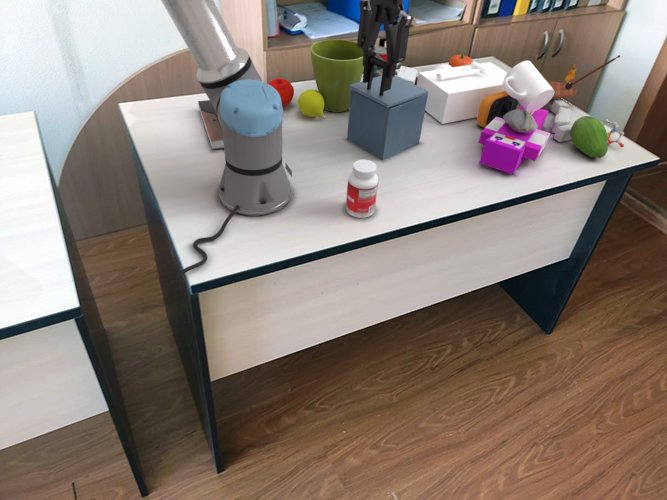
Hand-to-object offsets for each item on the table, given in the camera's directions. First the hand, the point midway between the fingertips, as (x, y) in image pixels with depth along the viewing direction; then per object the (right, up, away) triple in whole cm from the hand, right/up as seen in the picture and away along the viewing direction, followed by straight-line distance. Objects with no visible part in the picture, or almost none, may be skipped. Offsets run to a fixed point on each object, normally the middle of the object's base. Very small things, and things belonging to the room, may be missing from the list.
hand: (376, 85), depth 122 cm
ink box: (+8, 0, +25) cm, 27 cm away
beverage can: (+3, +10, +37) cm, 38 cm away
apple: (-25, +2, +25) cm, 36 cm away
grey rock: (+36, -9, +8) cm, 38 cm away
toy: (+45, -1, +24) cm, 51 cm away
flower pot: (-9, +2, +26) cm, 28 cm away
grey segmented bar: (+50, -1, +25) cm, 56 cm away
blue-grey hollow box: (+3, -10, +13) cm, 17 cm away
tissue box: (+28, +4, +31) cm, 42 cm away
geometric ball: (+23, +17, +39) cm, 49 cm away
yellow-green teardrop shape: (-18, +4, +21) cm, 28 cm away
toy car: (+14, +13, +42) cm, 46 cm away
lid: (+3, 0, +4) cm, 5 cm away
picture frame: (-35, -6, +15) cm, 38 cm away
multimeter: (+36, +2, +24) cm, 43 cm away
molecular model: (+68, -7, +20) cm, 71 cm away
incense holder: (+56, +9, +36) cm, 68 cm away
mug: (+41, 0, +13) cm, 43 cm away
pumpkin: (+30, +17, +48) cm, 59 cm away
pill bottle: (-4, -30, -9) cm, 31 cm away
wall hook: (+12, +8, +38) cm, 41 cm away
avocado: (+54, -4, +15) cm, 56 cm away
